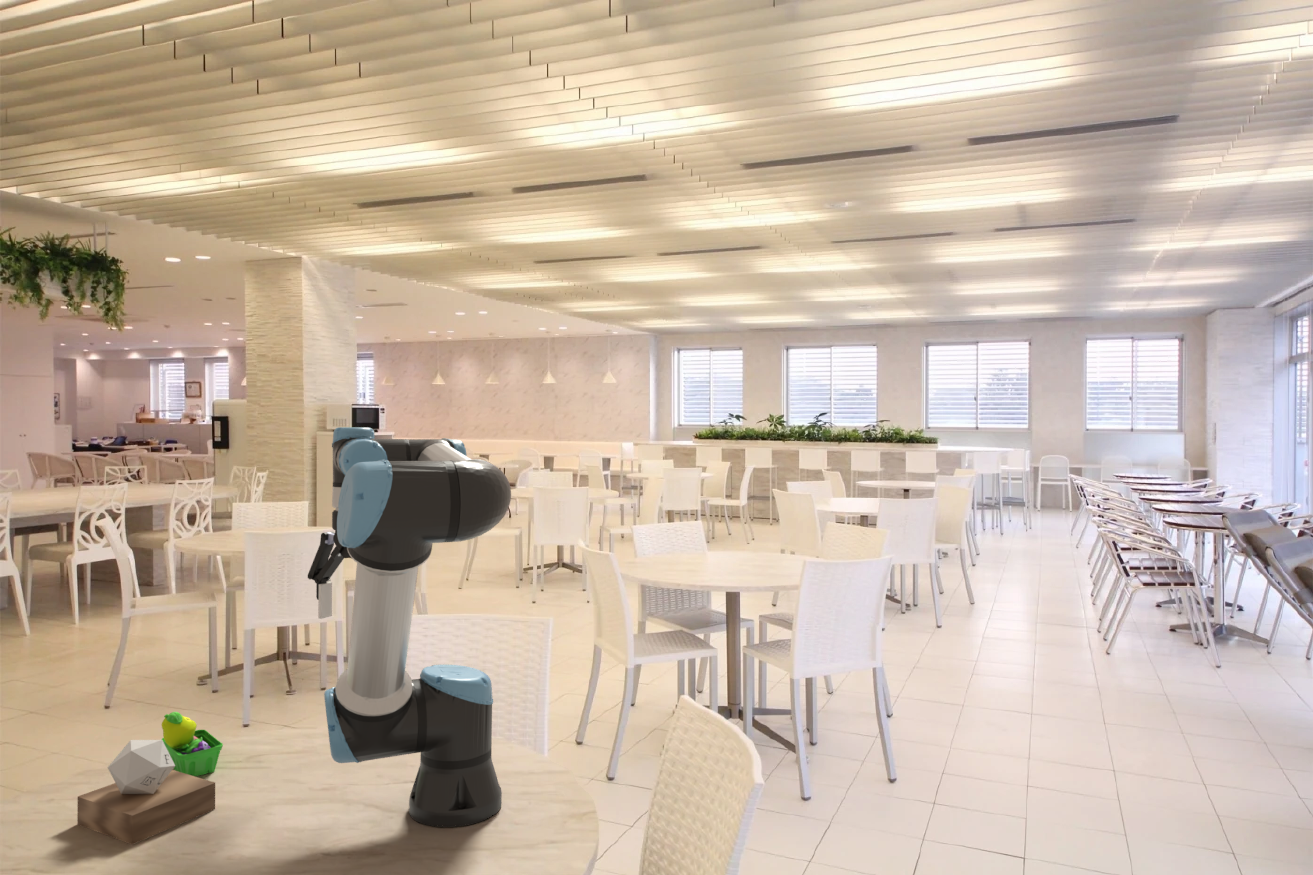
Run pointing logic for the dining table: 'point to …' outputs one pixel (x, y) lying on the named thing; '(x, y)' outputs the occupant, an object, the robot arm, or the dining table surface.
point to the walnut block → (146, 807)
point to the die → (141, 766)
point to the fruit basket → (190, 745)
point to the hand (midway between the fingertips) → (352, 621)
